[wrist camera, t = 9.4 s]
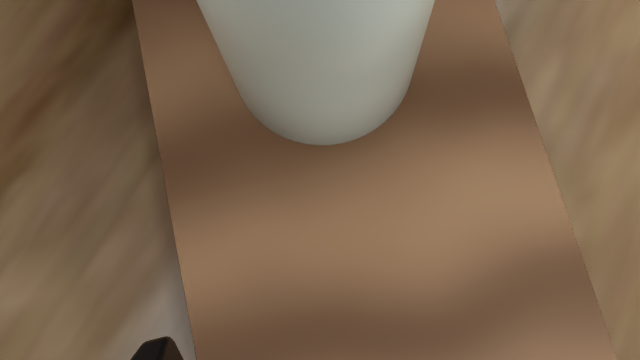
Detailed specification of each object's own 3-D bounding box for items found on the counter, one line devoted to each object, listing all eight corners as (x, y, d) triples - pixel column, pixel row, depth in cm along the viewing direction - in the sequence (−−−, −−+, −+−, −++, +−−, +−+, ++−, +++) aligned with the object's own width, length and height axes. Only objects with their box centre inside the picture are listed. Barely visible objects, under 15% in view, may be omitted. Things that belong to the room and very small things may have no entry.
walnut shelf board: (599, 403, 19) (728, 450, 12) (241, 491, 19) (186, 584, 12) (430, -108, 23) (461, -265, 17) (142, -39, 23) (64, -170, 17)
